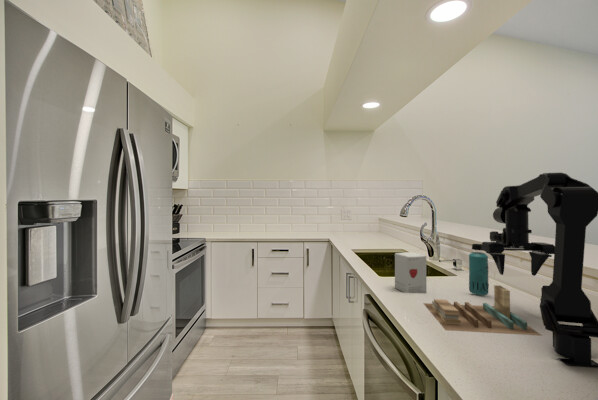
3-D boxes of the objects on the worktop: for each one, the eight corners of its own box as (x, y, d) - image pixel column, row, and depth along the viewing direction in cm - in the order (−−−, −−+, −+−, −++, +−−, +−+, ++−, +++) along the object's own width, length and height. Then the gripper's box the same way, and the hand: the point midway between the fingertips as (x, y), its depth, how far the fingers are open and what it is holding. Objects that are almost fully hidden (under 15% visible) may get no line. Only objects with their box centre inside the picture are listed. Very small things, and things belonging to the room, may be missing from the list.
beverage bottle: (469, 297, 103) (468, 244, 103) (468, 292, 109) (467, 242, 109) (490, 300, 100) (489, 245, 100) (487, 294, 106) (487, 243, 106)
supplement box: (407, 295, 107) (407, 256, 107) (394, 288, 115) (393, 252, 115) (427, 293, 109) (427, 255, 109) (413, 286, 117) (412, 251, 118)
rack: (542, 339, 72) (542, 327, 72) (445, 333, 75) (445, 322, 75) (498, 309, 92) (498, 300, 92) (423, 306, 95) (423, 297, 95)
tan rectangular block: (510, 321, 80) (509, 290, 80) (504, 321, 81) (503, 290, 81) (500, 314, 85) (499, 285, 85) (494, 314, 86) (494, 285, 86)
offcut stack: (460, 324, 79) (460, 312, 79) (445, 323, 79) (445, 311, 79) (444, 308, 90) (444, 297, 90) (431, 307, 91) (431, 297, 91)
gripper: (531, 223, 93) (532, 269, 93) (472, 223, 96) (473, 268, 96) (557, 226, 82) (558, 278, 82) (490, 226, 85) (490, 276, 85)
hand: (517, 274), depth 86 cm, fingers open, 9 cm apart
